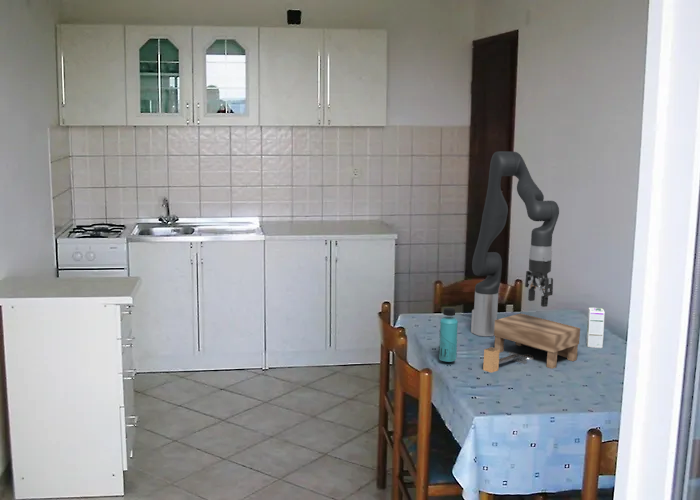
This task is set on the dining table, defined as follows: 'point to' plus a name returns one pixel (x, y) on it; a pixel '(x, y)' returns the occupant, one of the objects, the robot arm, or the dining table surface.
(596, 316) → the syrup box
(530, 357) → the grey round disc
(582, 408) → the dining table surface
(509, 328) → the small wooden stool
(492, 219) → the robot arm
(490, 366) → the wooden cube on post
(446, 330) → the beverage bottle
